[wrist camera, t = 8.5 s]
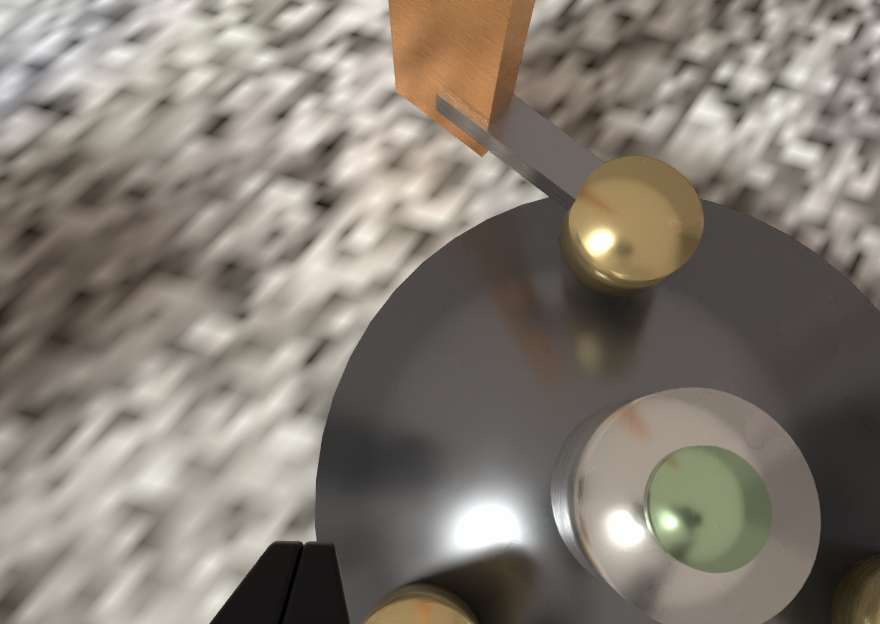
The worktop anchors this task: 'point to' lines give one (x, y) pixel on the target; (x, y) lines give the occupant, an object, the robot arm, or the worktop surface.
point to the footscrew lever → (543, 143)
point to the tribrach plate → (557, 361)
